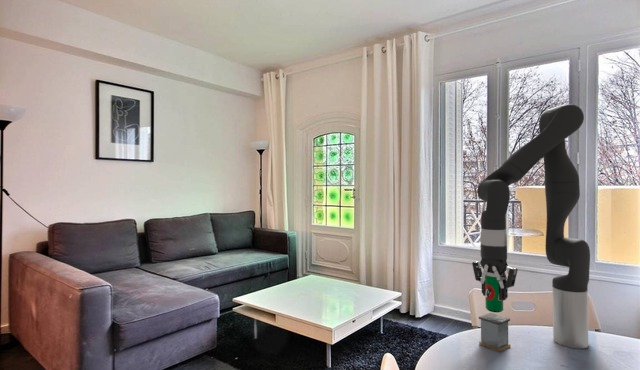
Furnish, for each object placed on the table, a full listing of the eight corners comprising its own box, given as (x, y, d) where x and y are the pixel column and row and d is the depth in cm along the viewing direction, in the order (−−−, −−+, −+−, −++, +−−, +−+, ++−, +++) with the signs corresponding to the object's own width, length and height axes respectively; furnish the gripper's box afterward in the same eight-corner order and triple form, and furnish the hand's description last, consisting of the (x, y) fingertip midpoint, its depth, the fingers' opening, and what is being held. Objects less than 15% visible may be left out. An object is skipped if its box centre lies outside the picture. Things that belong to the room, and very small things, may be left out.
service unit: (490, 340, 117) (490, 312, 117) (510, 347, 112) (510, 318, 112) (479, 344, 114) (478, 316, 114) (498, 352, 108) (498, 323, 108)
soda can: (503, 314, 109) (502, 274, 109) (484, 311, 112) (484, 272, 112) (503, 309, 114) (503, 271, 114) (486, 306, 116) (485, 269, 116)
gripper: (523, 245, 109) (523, 301, 109) (479, 239, 121) (480, 290, 121) (509, 247, 105) (510, 306, 105) (465, 241, 117) (466, 294, 117)
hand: (494, 297), depth 113 cm, fingers closed on soda can, 5 cm apart
